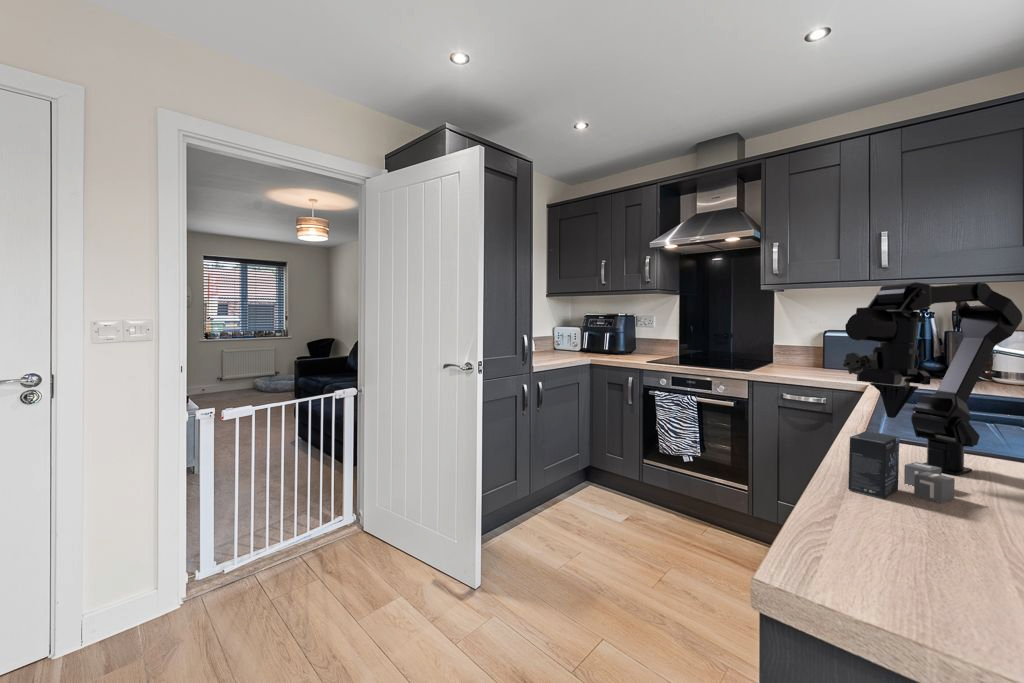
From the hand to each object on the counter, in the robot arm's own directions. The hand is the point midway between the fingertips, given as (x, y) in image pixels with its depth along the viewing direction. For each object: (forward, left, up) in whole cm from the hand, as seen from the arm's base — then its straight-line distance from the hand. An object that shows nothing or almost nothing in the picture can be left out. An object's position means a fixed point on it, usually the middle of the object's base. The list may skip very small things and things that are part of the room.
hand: (891, 417), depth 92 cm
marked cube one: (+2, +6, -12) cm, 14 cm away
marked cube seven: (+7, +10, -12) cm, 17 cm away
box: (+13, +4, -12) cm, 18 cm away
